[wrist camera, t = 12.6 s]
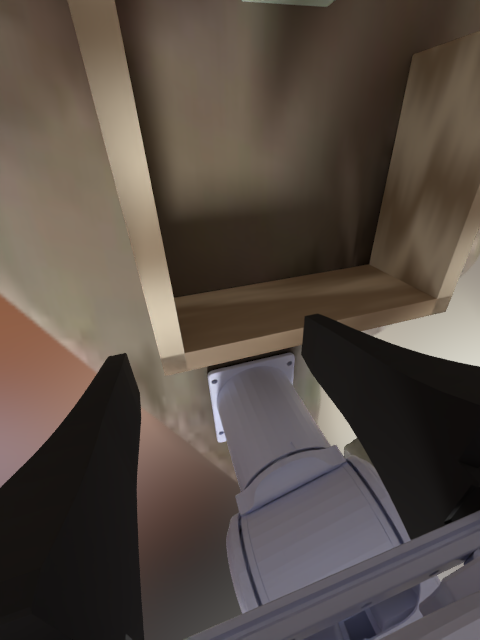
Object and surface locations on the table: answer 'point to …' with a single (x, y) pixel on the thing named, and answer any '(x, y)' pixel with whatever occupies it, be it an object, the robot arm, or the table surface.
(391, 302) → the open box
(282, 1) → the sage block
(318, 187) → the table surface
